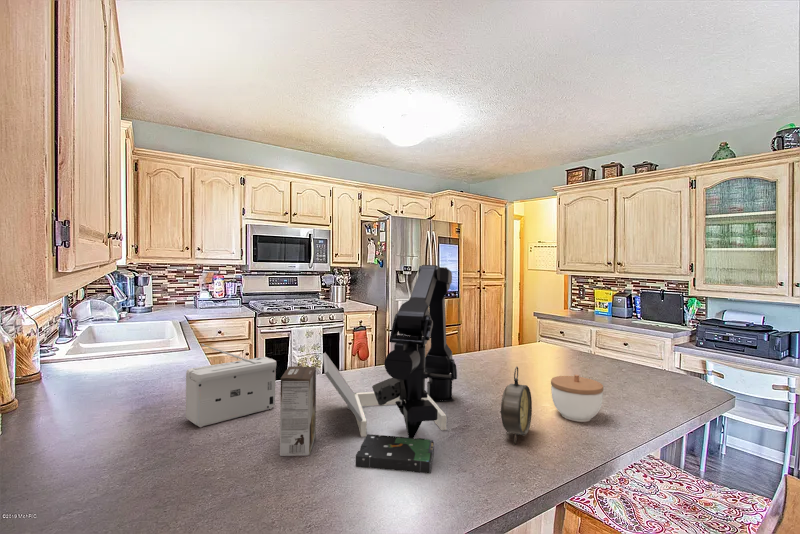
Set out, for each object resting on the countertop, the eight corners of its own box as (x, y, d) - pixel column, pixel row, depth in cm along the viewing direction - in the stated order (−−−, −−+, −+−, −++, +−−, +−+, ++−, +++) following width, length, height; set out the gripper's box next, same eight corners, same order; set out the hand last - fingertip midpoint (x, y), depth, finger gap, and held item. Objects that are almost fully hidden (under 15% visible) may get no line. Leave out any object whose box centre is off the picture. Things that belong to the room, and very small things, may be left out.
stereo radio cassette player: (264, 401, 111) (265, 331, 111) (278, 409, 105) (279, 335, 105) (184, 421, 97) (185, 340, 97) (194, 431, 91) (196, 345, 91)
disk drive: (354, 470, 76) (431, 476, 74) (354, 456, 76) (431, 461, 74) (366, 446, 86) (434, 450, 84) (366, 433, 86) (434, 437, 84)
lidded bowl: (598, 411, 107) (599, 371, 107) (606, 429, 95) (607, 384, 95) (549, 405, 111) (550, 366, 111) (551, 422, 99) (552, 378, 99)
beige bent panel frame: (423, 401, 113) (423, 348, 113) (446, 430, 93) (447, 366, 93) (321, 407, 107) (322, 352, 107) (323, 439, 87) (324, 371, 87)
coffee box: (287, 437, 88) (288, 365, 88) (316, 436, 89) (317, 365, 89) (278, 456, 79) (279, 377, 79) (310, 456, 80) (311, 377, 80)
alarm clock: (520, 448, 85) (521, 373, 85) (496, 442, 88) (497, 369, 88) (532, 430, 94) (534, 363, 94) (510, 425, 97) (511, 360, 97)
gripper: (369, 358, 93) (368, 423, 93) (383, 381, 75) (381, 462, 75) (414, 356, 95) (413, 420, 95) (438, 378, 77) (437, 457, 77)
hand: (410, 438), depth 85 cm, fingers closed
